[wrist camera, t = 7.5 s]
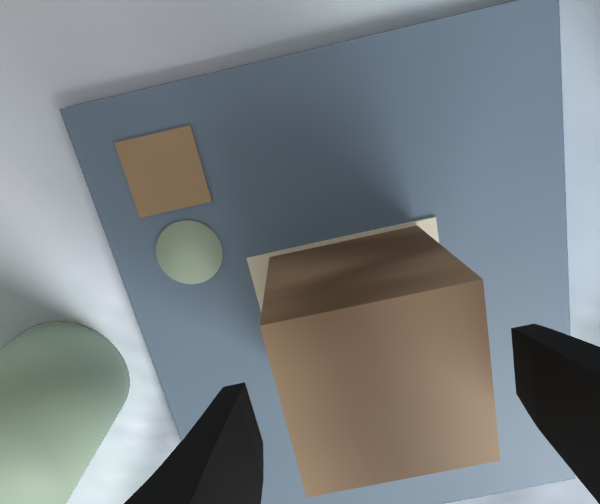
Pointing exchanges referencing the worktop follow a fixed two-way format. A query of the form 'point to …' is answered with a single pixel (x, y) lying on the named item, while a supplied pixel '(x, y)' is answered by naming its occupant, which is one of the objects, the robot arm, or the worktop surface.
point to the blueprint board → (341, 209)
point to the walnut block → (380, 360)
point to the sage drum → (55, 409)
